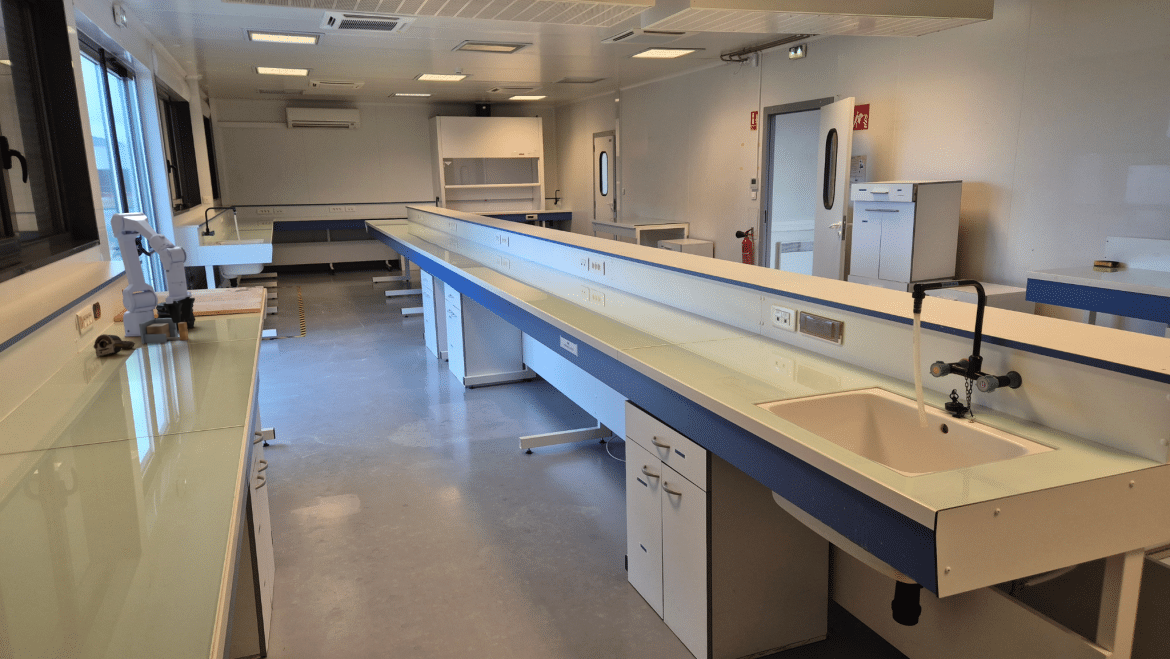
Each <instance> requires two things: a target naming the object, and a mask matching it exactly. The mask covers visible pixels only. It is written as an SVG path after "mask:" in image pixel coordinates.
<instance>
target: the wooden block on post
mask: <svg viewBox="0 0 1170 659" xmlns="http://www.w3.org/2000/svg"><path fill="white" fill-rule="evenodd" d="M178 328H179V331H178V334H179V336H178V337H170V331H169V324H168V323H163V324H152V325H149V326H147V334H166V337H167V341H174V340H175V341H177V340H179V341H187V340H189V339H190V338H189V331H188V330H189V329H187V322H180V323H178Z"/></svg>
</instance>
